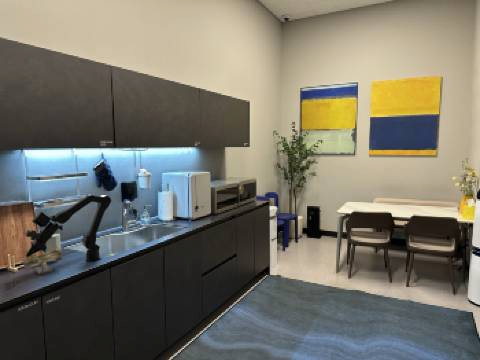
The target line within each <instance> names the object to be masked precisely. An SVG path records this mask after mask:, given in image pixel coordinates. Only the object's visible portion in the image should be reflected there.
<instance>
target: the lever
mask: <svg viewBox="0 0 480 360" xmlns="http://www.w3.org/2000/svg"><path fill="white" fill-rule="evenodd" d="M61 251H62V248H61V249H60V248H59V247H57V248H55V250H54V251H50V252H47V251H46V252H44V253H41V254H38V255H36V253H34V254H33V255H34V256H36V257H34V258H31V259H28V257H26V256H25V257H23V258H21V261H22V263H23V267H24V269H30V268H32V267H35V266H38V265H41V264H42V263H43V262H44V261H46V262H48V261H50V262H52V261H51V260H54V259H55V260H56V261H55V262H58V261H60V260H62V259H63V253H62V252H61Z"/></svg>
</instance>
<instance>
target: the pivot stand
mask: <svg viewBox="0 0 480 360" xmlns="http://www.w3.org/2000/svg"><path fill="white" fill-rule="evenodd" d="M40 265H41V266H39V267H35V271H36V274H37V275H43V274H48V273H53V272H54V269H53V268H52V266H51V265H50V264H49V265H48V264H47V262H46V261H44V262H43V263H42V264H40Z"/></svg>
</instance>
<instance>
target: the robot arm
mask: <svg viewBox="0 0 480 360" xmlns="http://www.w3.org/2000/svg"><path fill="white" fill-rule="evenodd" d="M91 203H97V205H96V212H95V214H94V217H93V220H92V222H91V225H90V227H89V230H88V232H87V233H83V236H82V238H81V243H82V246H83V247H84V248H86V253H85V257H86V259H85V261H86V262H91V263H93V262H96V261H100V260H101V259H102V257H100V248H101V247H100V246H99V245H98V244H97V243H96V242H97V233H98V231H99V227H100V225H101V222H102V219H103V217H104V214H105V212H106V211H107V210H108V209H109V207H110V205H111V203H112V199H111V197H110V196H108V195H104V194H103V195H94V194H86V196H84V197H83V198H82V199H79V201H78V202H75V203H74V204H72V205H71V206H69V207H68V208H67V209H62V210H61V211H58V212H57V213H55V215H50V216H49V215H47V214H45V213H44V212H43V211H40V212H39V213H37V215H35V216H34V217H33V218H32V220H31V222H32V223H33V224H35V225H36V226H38V227H39V228H43V229H41V230H39V231H36V230H34V229H27V231H26V232H25V237H27V238H29V239H30V240H31V241H30V246H29V248H28V251H27V252H26V254H25V257H29V256H31V255H34V254H36V253H38V252H41V251H42V252H45V251H47V250H46V249H47V246H46V242H47V241H48V240H49V239H51V238H52V236H53V235H54V234H56V232H58V230H60V231H63V230H64V229H63V225H64V224H65V223H67V222H68V221H69V220H71V218H72V217H73V215H74V214H77V212H79V211H81V210H82V209H83V208H85V207H86V206H88V205H89V204H91Z"/></svg>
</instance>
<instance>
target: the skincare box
mask: <svg viewBox="0 0 480 360" xmlns="http://www.w3.org/2000/svg"><path fill="white" fill-rule="evenodd" d="M46 246H47V249H46V250H45V251H46V253H47V252H50V251H54V250H55V248H57V247H59V248H60V249H61V252H62V242H61V234H60V233H54V235H53V236H52V238H51V239H49V240H48V241H47V242H46ZM48 262H57V261H56V260H55V259H54V260H51V261H48Z"/></svg>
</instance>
